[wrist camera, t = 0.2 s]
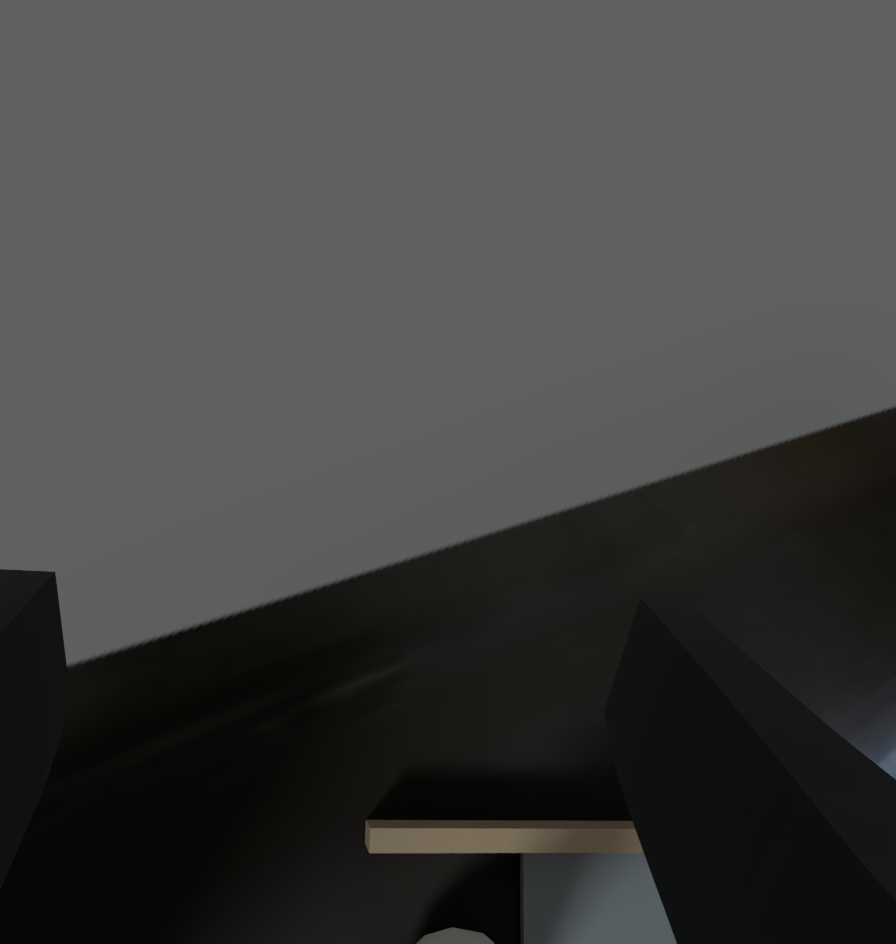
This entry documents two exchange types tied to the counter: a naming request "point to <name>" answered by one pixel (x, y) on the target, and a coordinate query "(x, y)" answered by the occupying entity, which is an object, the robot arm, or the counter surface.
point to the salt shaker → (455, 937)
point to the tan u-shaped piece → (553, 874)
